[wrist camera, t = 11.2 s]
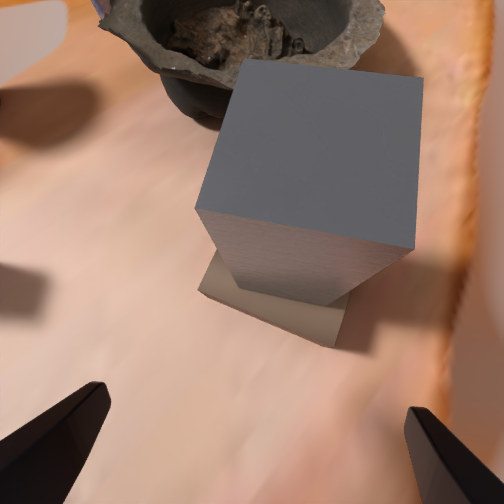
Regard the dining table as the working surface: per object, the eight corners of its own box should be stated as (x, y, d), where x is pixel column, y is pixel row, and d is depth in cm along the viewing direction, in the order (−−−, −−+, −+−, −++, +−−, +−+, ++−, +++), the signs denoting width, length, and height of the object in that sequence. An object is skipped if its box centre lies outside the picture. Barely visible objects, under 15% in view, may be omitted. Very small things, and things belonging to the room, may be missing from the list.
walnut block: (322, 346, 21) (333, 347, 17) (209, 298, 23) (197, 289, 19) (358, 236, 24) (374, 216, 20) (254, 201, 26) (251, 177, 22)
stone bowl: (107, 136, 29) (38, 41, 20) (193, 5, 38) (171, -100, 29) (340, 184, 25) (377, 88, 16) (375, 23, 33) (411, -93, 25)
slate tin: (324, 306, 18) (414, 249, 7) (238, 287, 19) (194, 207, 8) (336, 227, 20) (423, 77, 9) (257, 212, 21) (244, 57, 9)
